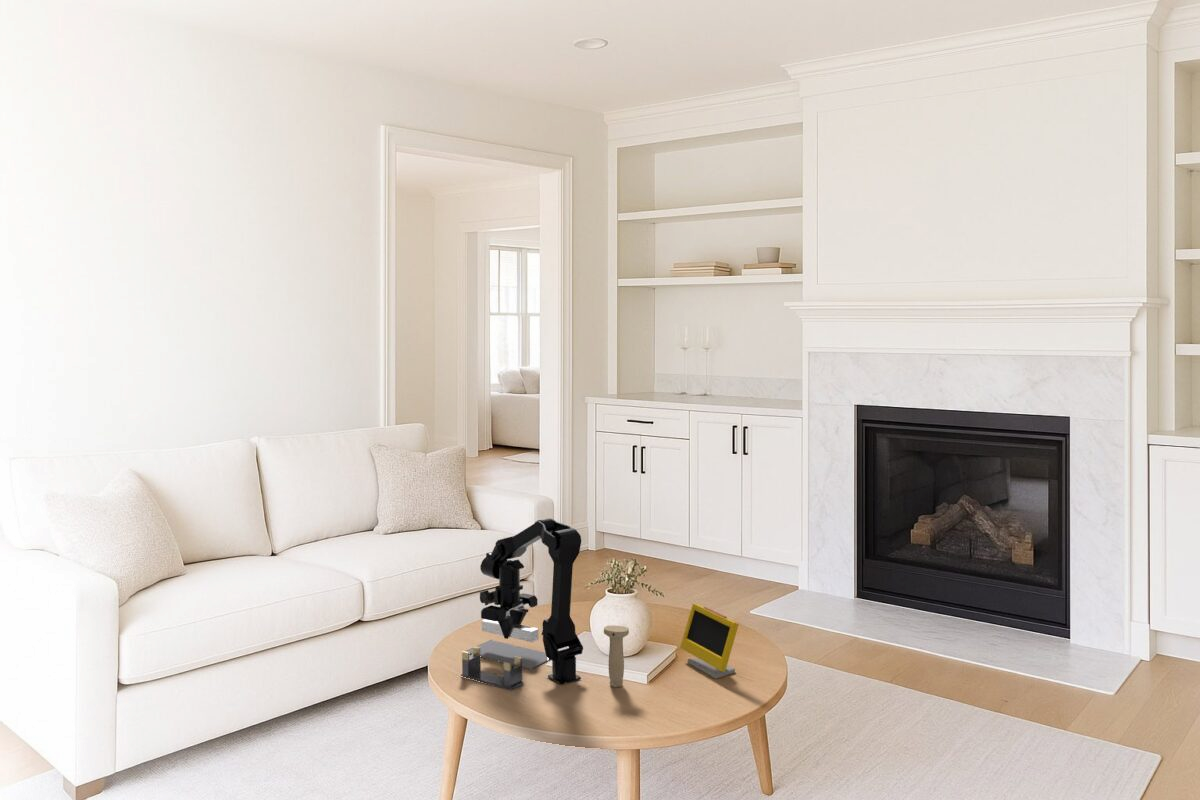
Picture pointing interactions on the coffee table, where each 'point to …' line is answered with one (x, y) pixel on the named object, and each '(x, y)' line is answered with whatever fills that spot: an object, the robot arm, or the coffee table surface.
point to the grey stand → (508, 681)
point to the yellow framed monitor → (709, 641)
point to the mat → (510, 653)
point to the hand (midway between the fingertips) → (510, 636)
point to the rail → (512, 630)
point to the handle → (616, 653)
